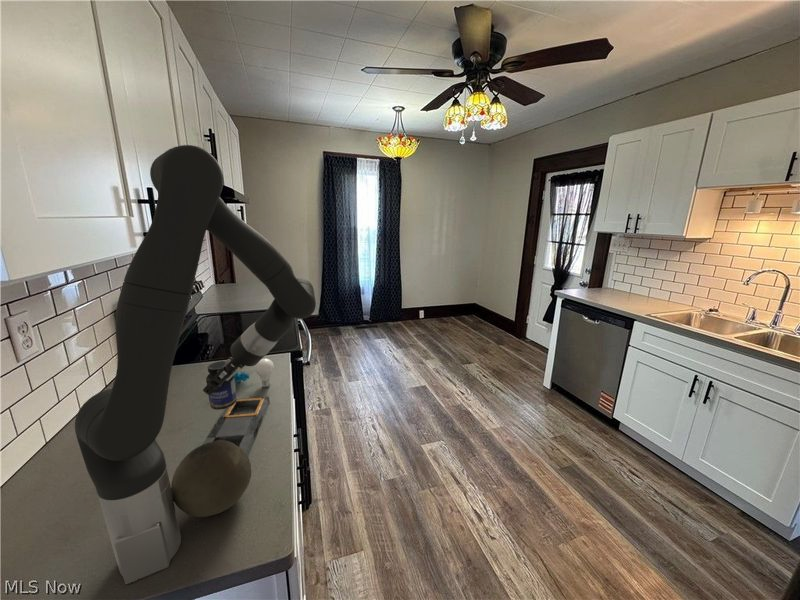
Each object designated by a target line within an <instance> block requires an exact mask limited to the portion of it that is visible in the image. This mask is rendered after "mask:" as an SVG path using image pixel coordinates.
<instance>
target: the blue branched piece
mask: <svg viewBox="0 0 800 600" xmlns="http://www.w3.org/2000/svg"><path fill="white" fill-rule="evenodd" d="M249 379H250V374H249V373H246V372H245V371H243V372H240V373H239V372H237V373H235V374H234V382H235V387H236V384H237V383H241V382H247V380H249Z"/></svg>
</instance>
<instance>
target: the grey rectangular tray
mask: <svg viewBox="0 0 800 600" xmlns="http://www.w3.org/2000/svg"><path fill="white" fill-rule="evenodd" d="M270 404H271V401H270V396H260V397H248V398H246V397H245V398H237V400H236V402H235V404H234V405H232V406H230V407H228V408H226V409H223V411H222V413H221V414H220V416H219V418H217V421H216V422H215V423H214V425H213V427H211V428H212V429H211V430H210V432H209V434H208V435H207V437H206V438H205V440H204V441H203V442H202V444H201V445H203V444H206V443H210V442H214V441H218V440H224V441H229V442H232V443H233V444H239V446H238V447H240V448H242V449H243V450H244V451H245V452H246V454H247V456H248V457H249V455H250V453H251V450H252V447H253V445H254V443H255V441H256V439H257V435H258V433H259V431H260V429H259V428H261V426H262V423H263V421H264V419H265V415H266V414H267V412H266V411H268V409H269V407H268V406H270ZM248 408H250V409H251V408H256V409H255V412H254V413H245V414H243V413H242V414H236V411H237V410H238V409H248ZM263 418H264V419H263Z"/></svg>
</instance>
